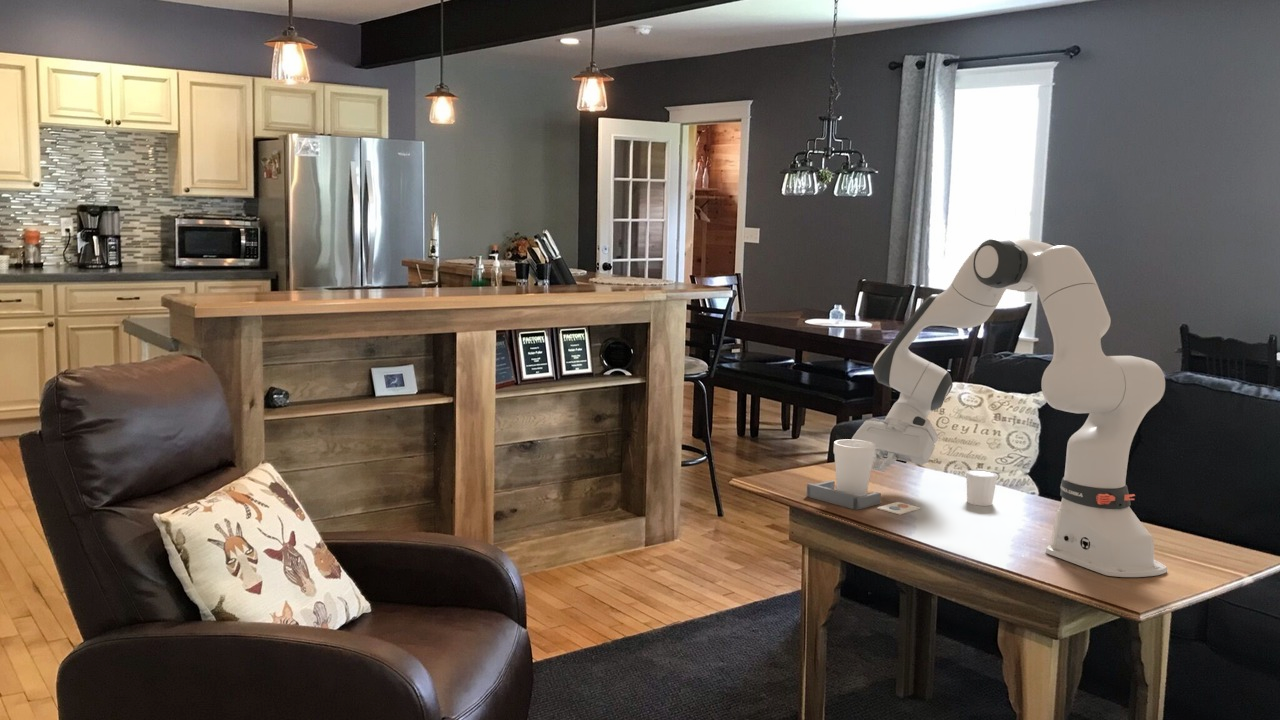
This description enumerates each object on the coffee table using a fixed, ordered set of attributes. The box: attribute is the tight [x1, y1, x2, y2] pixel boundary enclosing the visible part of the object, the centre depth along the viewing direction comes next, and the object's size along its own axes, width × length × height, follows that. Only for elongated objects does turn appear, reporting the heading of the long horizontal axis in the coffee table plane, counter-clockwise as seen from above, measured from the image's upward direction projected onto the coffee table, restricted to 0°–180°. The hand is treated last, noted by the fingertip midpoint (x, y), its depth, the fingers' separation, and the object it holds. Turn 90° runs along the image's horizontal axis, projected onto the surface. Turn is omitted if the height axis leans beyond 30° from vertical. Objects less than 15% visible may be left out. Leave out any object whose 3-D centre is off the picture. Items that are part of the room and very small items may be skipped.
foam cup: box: [832, 438, 876, 496], centre depth 243 cm, size 10×9×13 cm
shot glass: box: [966, 469, 998, 507], centre depth 244 cm, size 7×7×7 cm
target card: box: [876, 501, 921, 516], centre depth 237 cm, size 8×6×1 cm
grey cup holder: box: [806, 480, 882, 511], centre depth 242 cm, size 9×14×3 cm, turn 43°
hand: (877, 469), depth 251 cm, fingers closed
